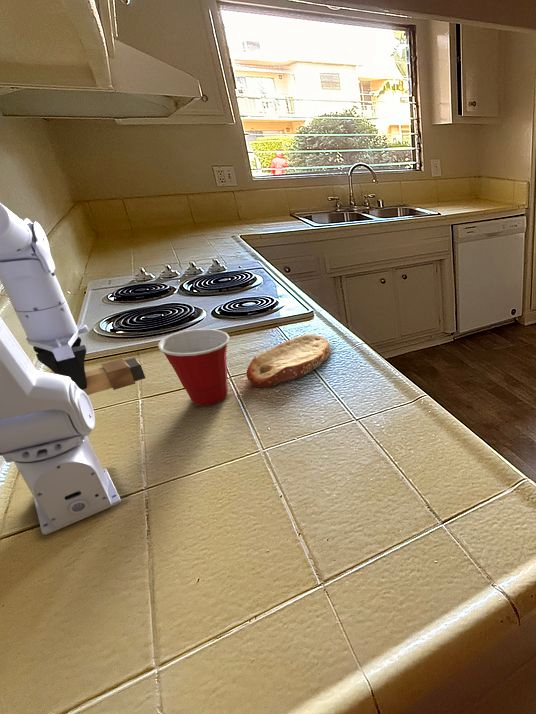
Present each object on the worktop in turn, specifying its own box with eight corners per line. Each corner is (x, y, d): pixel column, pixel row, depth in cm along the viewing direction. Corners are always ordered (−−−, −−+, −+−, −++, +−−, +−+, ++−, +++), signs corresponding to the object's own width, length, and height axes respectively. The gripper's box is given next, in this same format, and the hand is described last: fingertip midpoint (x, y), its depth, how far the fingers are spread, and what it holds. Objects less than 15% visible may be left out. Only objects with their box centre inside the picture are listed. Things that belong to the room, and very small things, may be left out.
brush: (49, 409, 70) (40, 390, 68) (45, 398, 72) (37, 380, 71) (146, 380, 78) (140, 363, 76) (139, 371, 81) (133, 355, 79)
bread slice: (324, 339, 110) (322, 325, 108) (345, 370, 96) (342, 353, 94) (241, 356, 102) (237, 340, 100) (251, 392, 88) (246, 374, 86)
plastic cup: (230, 412, 81) (212, 350, 76) (165, 414, 81) (143, 352, 75) (252, 382, 91) (238, 325, 86) (195, 384, 90) (177, 327, 85)
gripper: (84, 310, 65) (117, 393, 71) (67, 288, 74) (98, 364, 80) (17, 323, 61) (59, 411, 67) (8, 298, 70) (45, 378, 76)
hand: (77, 386), depth 73 cm, fingers closed on brush, 2 cm apart
